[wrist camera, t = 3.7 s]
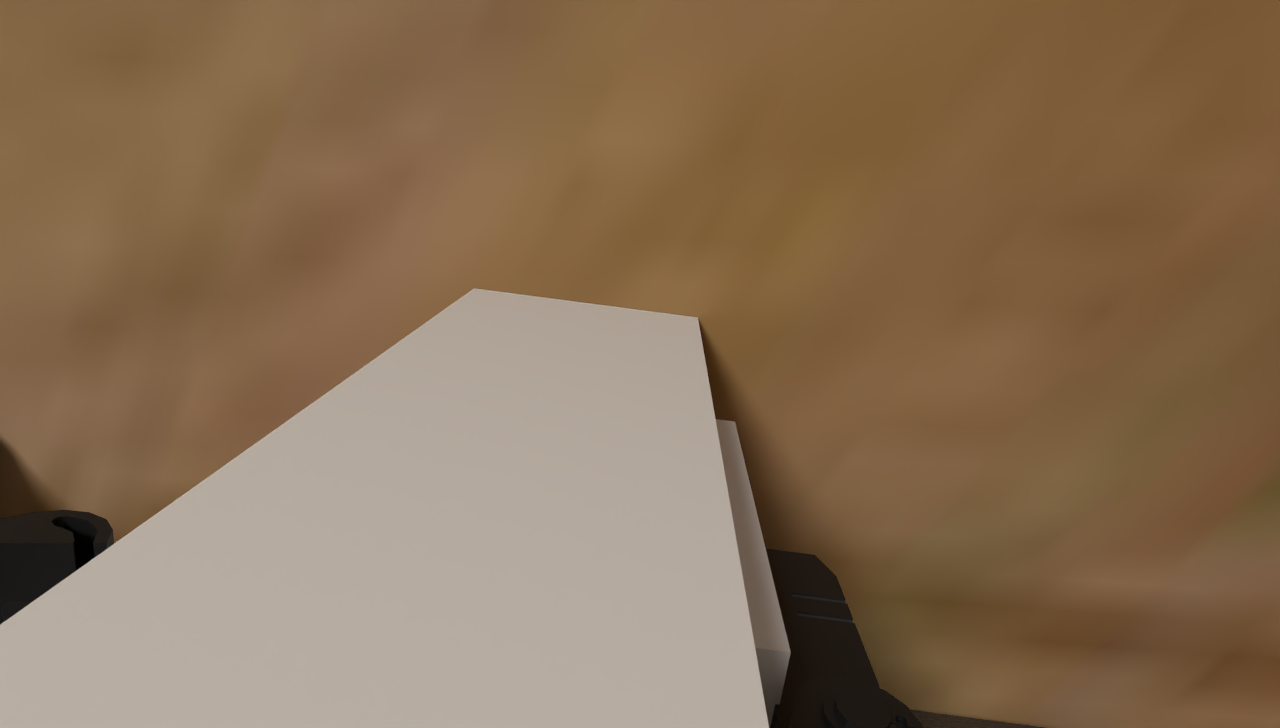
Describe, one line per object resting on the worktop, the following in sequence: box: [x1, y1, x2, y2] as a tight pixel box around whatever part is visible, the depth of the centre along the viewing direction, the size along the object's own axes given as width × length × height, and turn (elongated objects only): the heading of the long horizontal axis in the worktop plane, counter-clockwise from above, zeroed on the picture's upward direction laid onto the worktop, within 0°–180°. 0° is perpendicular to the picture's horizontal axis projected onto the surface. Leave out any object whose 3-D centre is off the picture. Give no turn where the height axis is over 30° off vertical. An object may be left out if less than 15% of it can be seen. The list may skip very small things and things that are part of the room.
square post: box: [0, 288, 769, 728], centre depth 10 cm, size 5×5×15 cm
